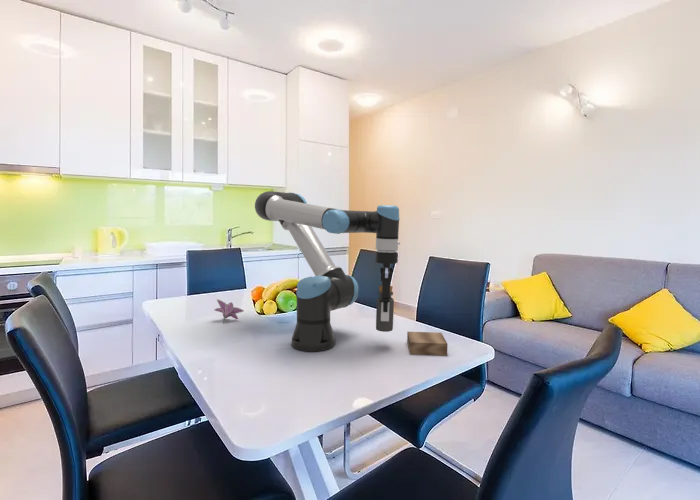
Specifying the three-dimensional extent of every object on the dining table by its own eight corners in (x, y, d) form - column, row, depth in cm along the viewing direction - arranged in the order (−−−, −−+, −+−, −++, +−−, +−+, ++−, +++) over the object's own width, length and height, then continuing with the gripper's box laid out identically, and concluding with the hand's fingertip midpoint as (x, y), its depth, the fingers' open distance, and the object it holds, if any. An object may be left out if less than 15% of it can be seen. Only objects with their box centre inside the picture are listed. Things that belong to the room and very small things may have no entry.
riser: (409, 354, 122) (410, 342, 122) (407, 342, 134) (407, 331, 134) (447, 355, 121) (447, 343, 121) (441, 343, 133) (441, 332, 133)
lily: (246, 325, 157) (248, 303, 162) (223, 319, 149) (226, 296, 153) (228, 329, 164) (230, 308, 168) (204, 324, 155) (208, 302, 159)
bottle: (392, 332, 125) (393, 288, 124) (374, 331, 126) (376, 287, 125) (393, 327, 131) (395, 285, 130) (377, 326, 132) (378, 284, 131)
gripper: (399, 254, 117) (396, 326, 119) (396, 249, 135) (394, 312, 137) (375, 253, 117) (373, 325, 119) (376, 248, 136) (374, 311, 138)
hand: (384, 318), depth 128 cm, fingers closed on bottle, 6 cm apart
